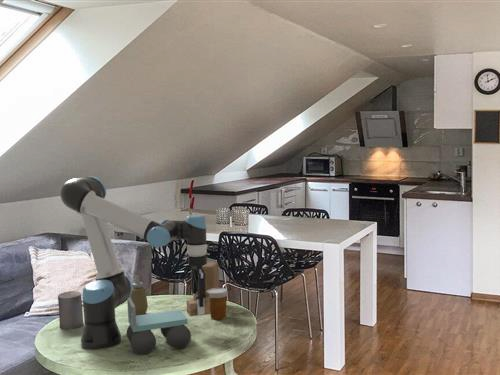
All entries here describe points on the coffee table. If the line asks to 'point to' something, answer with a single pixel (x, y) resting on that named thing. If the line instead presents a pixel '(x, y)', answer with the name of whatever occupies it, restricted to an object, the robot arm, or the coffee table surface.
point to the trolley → (167, 321)
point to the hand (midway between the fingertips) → (198, 311)
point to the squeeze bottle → (139, 297)
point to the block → (211, 275)
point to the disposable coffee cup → (218, 303)
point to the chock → (193, 305)
